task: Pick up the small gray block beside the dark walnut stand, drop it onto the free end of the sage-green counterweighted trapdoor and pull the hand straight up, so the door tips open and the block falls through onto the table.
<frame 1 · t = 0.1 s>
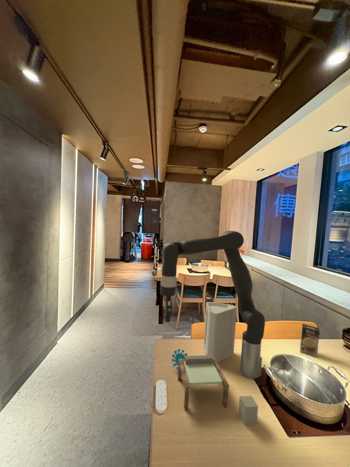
hand: (166, 317, 101), 29 cm above the table, tool pointing down, fingers open, 8 cm apart
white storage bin: (214, 352, 124), on the table
stand: (199, 388, 95), on the table
coffee box: (308, 353, 130), on the table
small gray block: (248, 409, 82), point 3 cm above the table
teal piece: (180, 366, 110), on the table
trapdoor: (201, 368, 94), point 10 cm above the table, hinge at 0.0°
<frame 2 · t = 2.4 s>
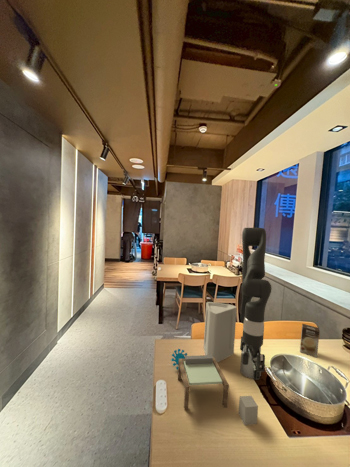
hand: (250, 371, 81), 19 cm above the table, tool pointing down, fingers open, 8 cm apart
nothing on the table moved.
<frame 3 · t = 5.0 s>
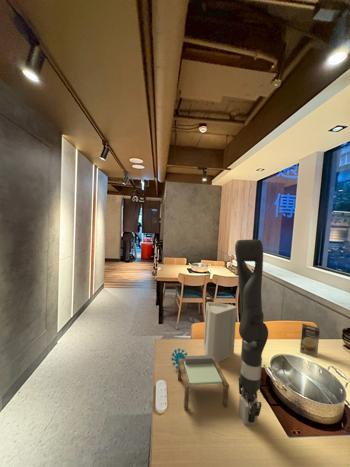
hand: (247, 414, 82), 1 cm above the table, tool pointing down, fingers closed on small gray block, 5 cm apart
small gray block: (247, 409, 81), point 3 cm above the table, touching gripper
everything else where it was.
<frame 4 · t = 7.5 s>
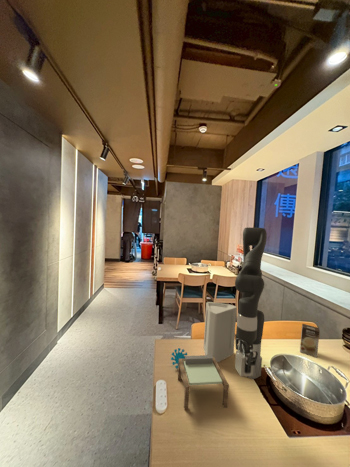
hand: (244, 367, 82), 19 cm above the table, tool pointing down, fingers closed on small gray block, 5 cm apart
small gray block: (244, 362, 82), point 21 cm above the table, touching gripper
everything else where it was.
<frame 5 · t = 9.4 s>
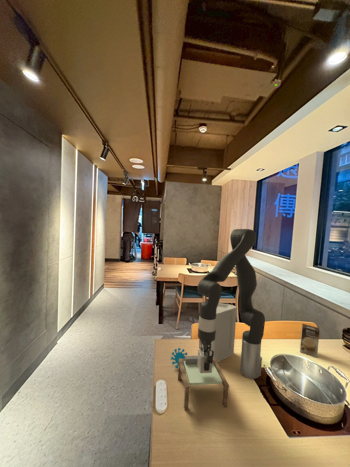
hand: (204, 365, 90), 14 cm above the table, tool pointing down, fingers closed on small gray block, 5 cm apart
small gray block: (204, 361, 90), point 16 cm above the table, touching gripper
when the fingers open (14 cm above the table, at t = 10.3 s): small gray block drops 5 cm, resting on trapdoor.
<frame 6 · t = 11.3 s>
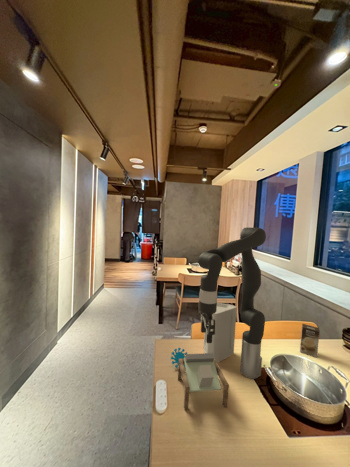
hand: (206, 337, 89), 27 cm above the table, tool pointing down, fingers open, 8 cm apart
small gray block: (204, 376, 89), point 10 cm above the table, tilted 26°, touching trapdoor
trapdoor: (202, 371, 93), point 10 cm above the table, hinge at -25.7°, touching small gray block
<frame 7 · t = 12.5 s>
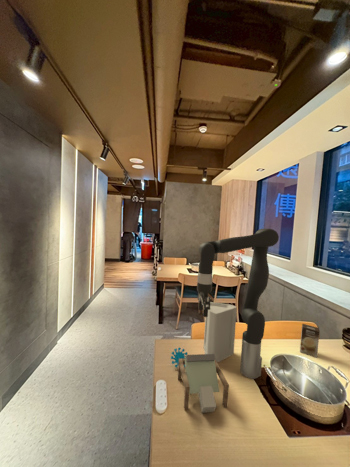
hand: (202, 313, 107), 30 cm above the table, tool pointing down, fingers open, 8 cm apart
small gray block: (206, 399, 85), point 4 cm above the table, tilted 120°, touching trapdoor
trapdoor: (201, 372, 93), point 9 cm above the table, hinge at -46.3°, touching small gray block
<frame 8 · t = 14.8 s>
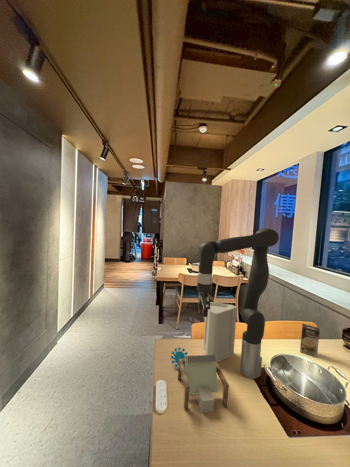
hand: (202, 313, 107), 30 cm above the table, tool pointing down, fingers open, 8 cm apart
small gray block: (205, 399, 87), point 2 cm above the table, tilted 90°
trapdoor: (201, 373, 93), point 9 cm above the table, hinge at -57.2°
at the end: small gray block point 2.3 cm above the table; small gray block inside the target area (0.5 cm from its centre), point 2.3 cm above the table; the gripper is holding nothing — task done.
